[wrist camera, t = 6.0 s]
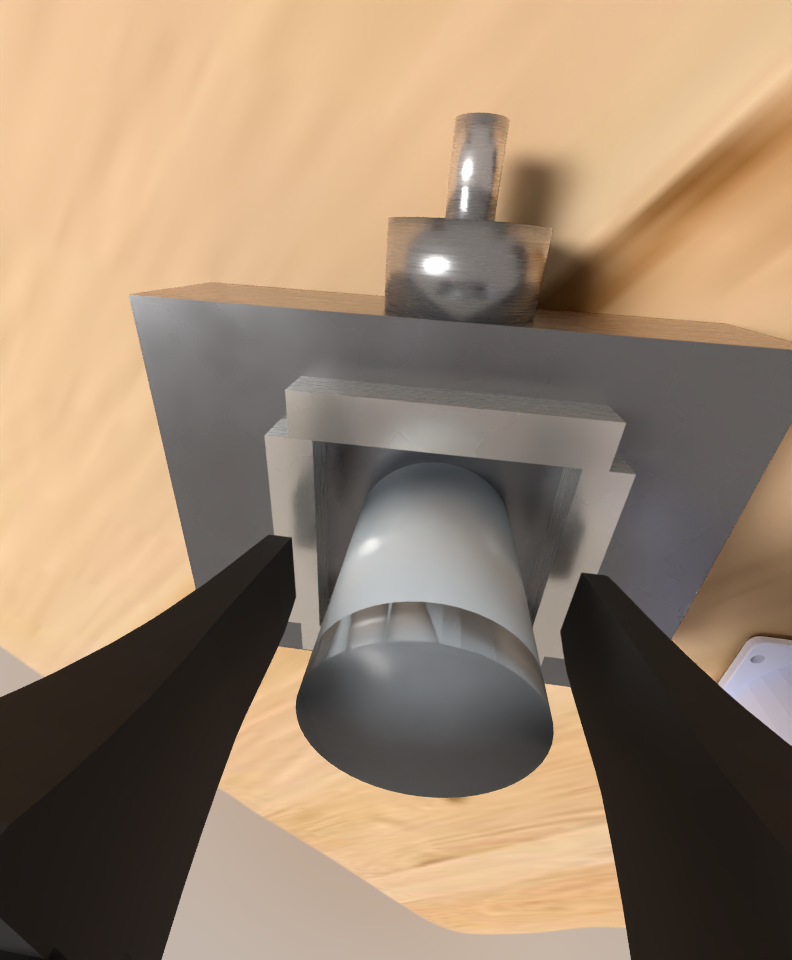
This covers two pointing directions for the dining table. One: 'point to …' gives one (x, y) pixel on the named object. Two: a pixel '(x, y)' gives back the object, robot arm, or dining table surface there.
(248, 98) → the dining table surface
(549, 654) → the grey square pedestal
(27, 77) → the dining table surface
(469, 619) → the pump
